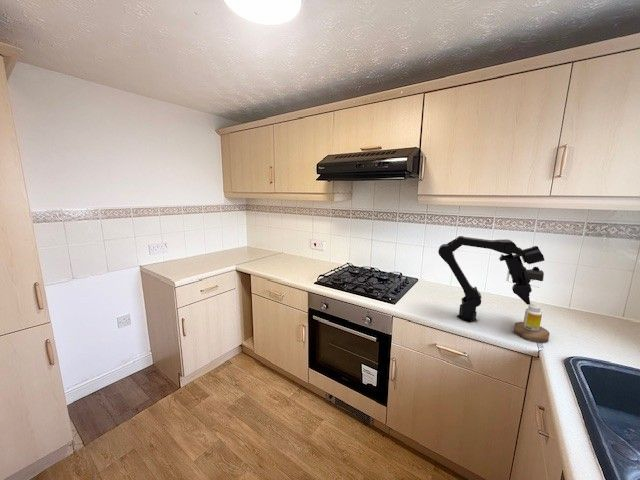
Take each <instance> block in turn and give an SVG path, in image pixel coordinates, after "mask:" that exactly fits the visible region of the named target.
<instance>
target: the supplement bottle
mask: <svg viewBox="0 0 640 480" xmlns="http://www.w3.org/2000/svg"><path fill="white" fill-rule="evenodd" d="M541 309H542V308H541V307H540V306H539V305H535V304H529V305H528V306H527V308H526V309H525V310H524V316H523V317H524V318H523V321H522V322H523V327H524V328H526V329H528V330H531V331H539V328H540V327H541V321H542V316H543V313H542V311H541Z"/></svg>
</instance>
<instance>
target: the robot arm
mask: <svg viewBox="0 0 640 480" xmlns="http://www.w3.org/2000/svg"><path fill="white" fill-rule="evenodd" d="M462 246H467V247H474V248H480V249H488V250H493V251H496V252H498V253H501V254H500V257H499V258H498V260H499V261H500V262H503V261H505V264H506V267H507V270H508V274H509V275H510V277H511V281H512V282H511V283H513V285H512V288H511V291H512V292H513V294H515V295H516V296H517V297H518V298H520V299H521V300H522V301H523V302H524V303H525V304H526V305H528V306H529V305H531V300H530V296H531V295H530V293H532V292H533V291H532V290H533V289H532V286H531V284H530V283H531V281H538V282H544V275H545V273H544V272H545V271H543V270H542V269H540V268H539V266H533V267H532V269H531V268H530V269H527V268H526V267H525V266H524V264H528V265H532V264H536V263H541V262H544V261H545V256H544V254H543V253H542V251H541V250H540V248H539V246H538V245H533V246H530V247H529V248H524V249H522V248H521V247H518V246H517V244H516V243H515V242H513V240H510V239H485V238H484V239H483V238H478V237H477V238H476V237H469V236H468V237H467V236H463V235H459V236H457V237H456V238H454V239H452V240H451V241H449V242H447V243H443V244H441V245H440V246H439V248H438V250H437V251H438V255H439V256H440V258H441V259H442V260H443V261H444V262H445V263H446V264H447V265H448V266H449V269H450V270H451V271H452V273H453V275H454V277H455V278H456V280H457V282H458V283H459V285H460V286H461V289H462V290H463V293H464V297H462V298H461V303H460V304H459V311H458V314H457V315H456V317H457V318H458V319H460V320H462V321H465V322H467V323H471V322H474V321H478V318H477V308H478V307H479V306H481V304H482V294H481V292H480V291H479V290H478V288H477V286H474V287H473V286H472V285H471V283H470V281H469V280H468V278H467V277H466V275H465V273H464V271H463V270H462V268H461V267H460V265H459V263H458V262H457V260H456V257H455V254H454V252H455V251H456V250H458V249H459V248H460V247H462ZM504 254H505V255H504Z"/></svg>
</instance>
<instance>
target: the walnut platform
mask: <svg viewBox="0 0 640 480" xmlns="http://www.w3.org/2000/svg"><path fill="white" fill-rule="evenodd" d="M523 322H524V321H517V322H515V323H514V324H513V328H512V329H513V331H512V332H513V333H514V334H515V335H516V336H518V338H520V339H521V338H522V339H523V340H526V341H529V342H533V343H537V344H545V343H548V342H549V338H550V331H548V330H547V329H546V328H544V327H542V326H540V328H539V331H531V330H528V329H526V328H524V327H523Z"/></svg>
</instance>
